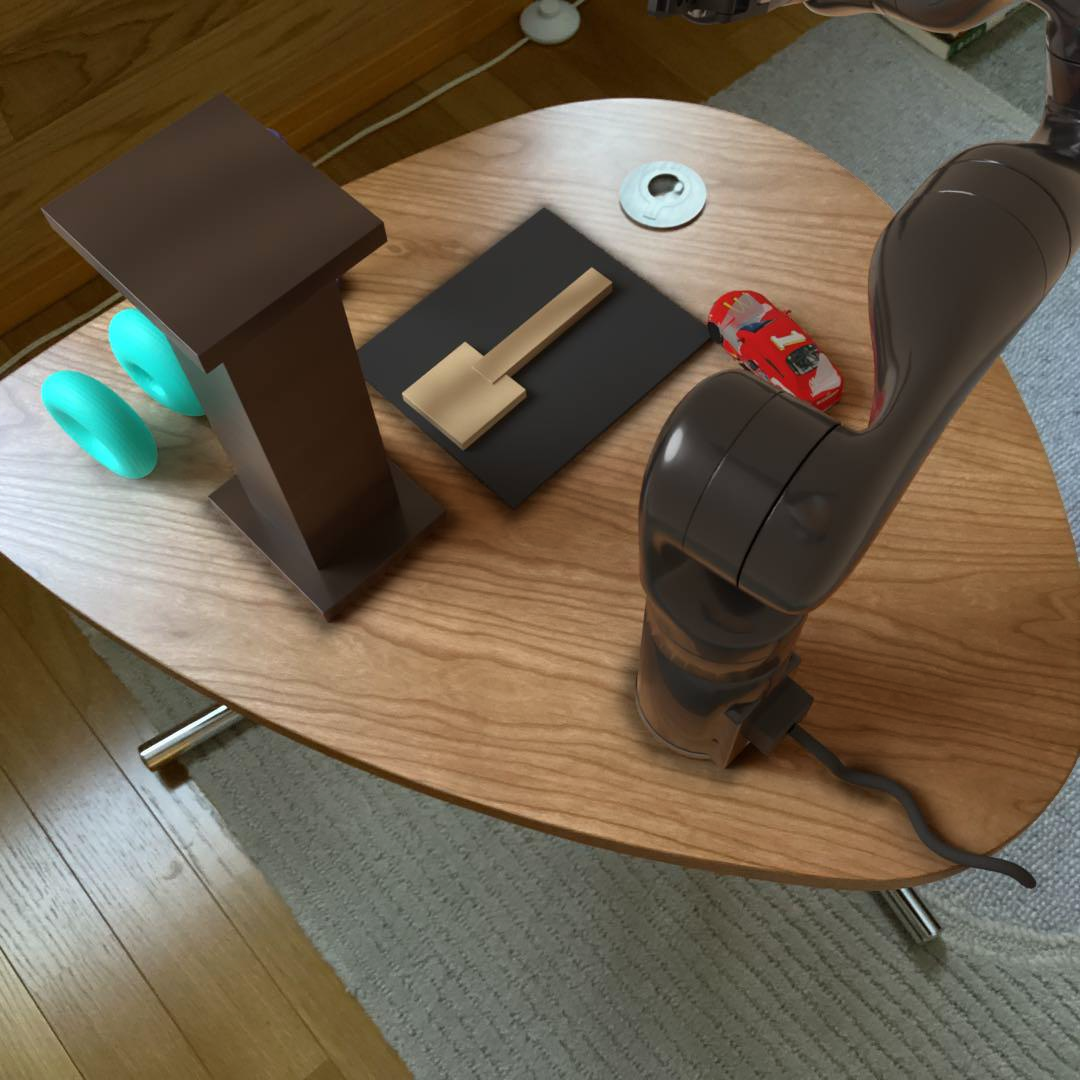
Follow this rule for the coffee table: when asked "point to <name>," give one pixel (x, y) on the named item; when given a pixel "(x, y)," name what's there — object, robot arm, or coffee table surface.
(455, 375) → the spatula
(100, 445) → the donuts
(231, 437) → the stand
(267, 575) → the coffee table surface
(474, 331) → the mat
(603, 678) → the coffee table surface
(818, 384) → the race car
